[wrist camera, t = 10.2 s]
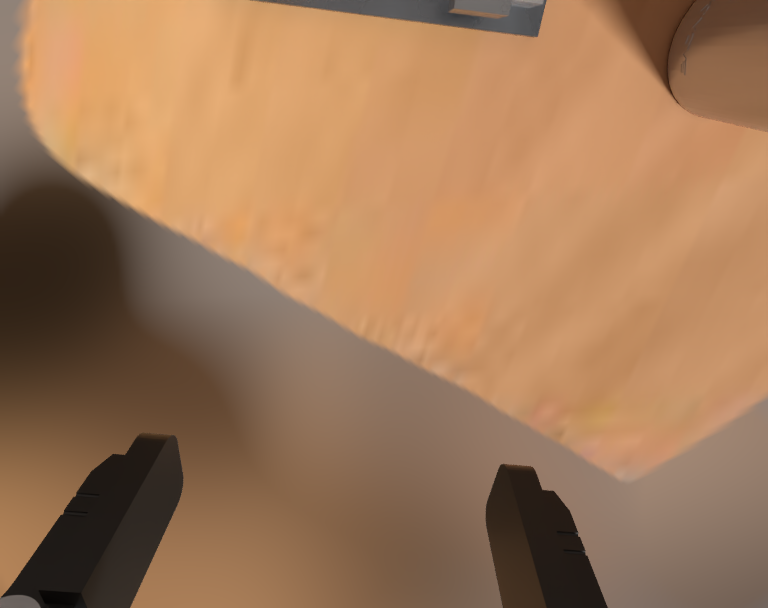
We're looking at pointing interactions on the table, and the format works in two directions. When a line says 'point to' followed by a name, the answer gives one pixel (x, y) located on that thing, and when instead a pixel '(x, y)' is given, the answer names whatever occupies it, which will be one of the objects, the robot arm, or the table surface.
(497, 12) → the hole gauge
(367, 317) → the table surface
